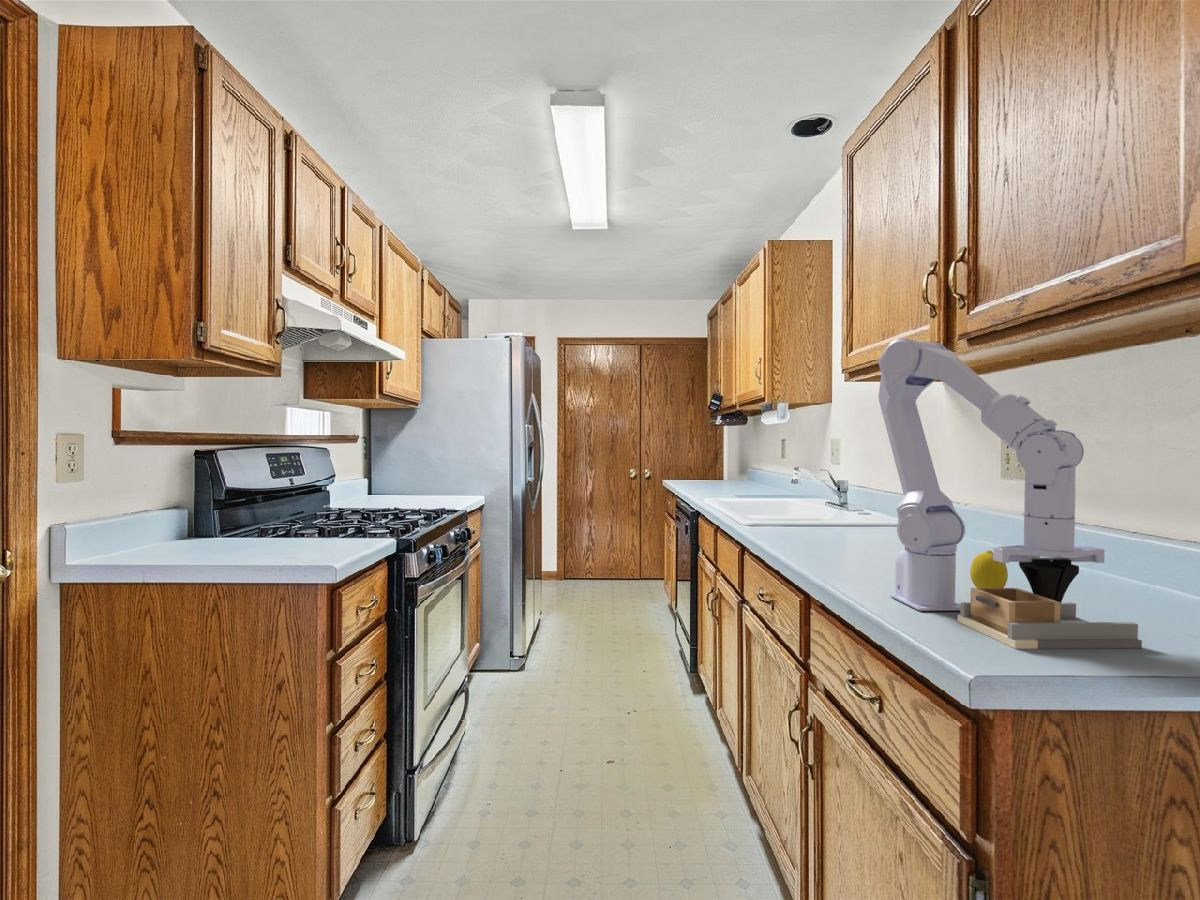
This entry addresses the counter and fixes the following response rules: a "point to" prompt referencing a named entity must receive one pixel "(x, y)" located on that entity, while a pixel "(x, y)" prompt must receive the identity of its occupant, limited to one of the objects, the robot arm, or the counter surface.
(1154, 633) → the counter surface
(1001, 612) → the crate
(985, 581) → the lemon
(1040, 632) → the bay
